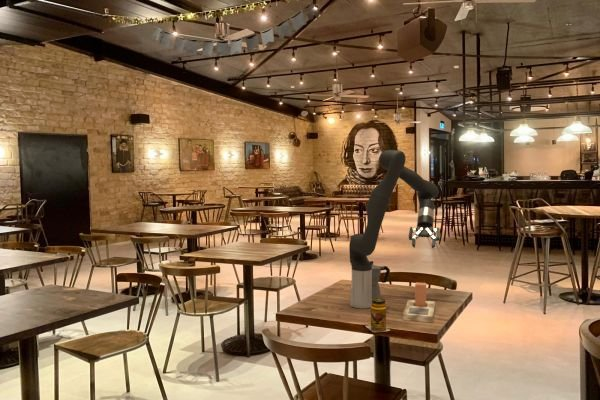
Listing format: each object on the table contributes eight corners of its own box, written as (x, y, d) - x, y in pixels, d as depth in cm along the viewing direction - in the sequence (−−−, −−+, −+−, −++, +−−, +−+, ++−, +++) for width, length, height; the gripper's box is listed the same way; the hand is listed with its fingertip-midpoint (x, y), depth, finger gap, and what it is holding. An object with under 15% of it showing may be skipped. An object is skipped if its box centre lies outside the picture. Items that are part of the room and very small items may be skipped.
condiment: (374, 333, 200) (374, 302, 199) (364, 326, 208) (365, 297, 207) (390, 331, 202) (391, 301, 202) (381, 324, 210) (381, 295, 210)
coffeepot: (357, 299, 249) (357, 262, 248) (358, 294, 259) (358, 258, 257) (389, 300, 247) (390, 263, 246) (389, 295, 256) (389, 259, 255)
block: (414, 311, 229) (415, 284, 228) (415, 308, 233) (416, 282, 233) (425, 311, 228) (425, 285, 227) (425, 309, 232) (426, 283, 231)
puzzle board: (402, 320, 216) (403, 313, 216) (408, 304, 239) (408, 298, 239) (432, 322, 213) (432, 315, 213) (434, 306, 236) (434, 300, 235)
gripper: (409, 214, 248) (407, 242, 239) (440, 214, 244) (438, 242, 234) (411, 223, 254) (408, 250, 244) (441, 223, 249) (439, 251, 240)
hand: (423, 246), depth 239 cm, fingers open, 8 cm apart
